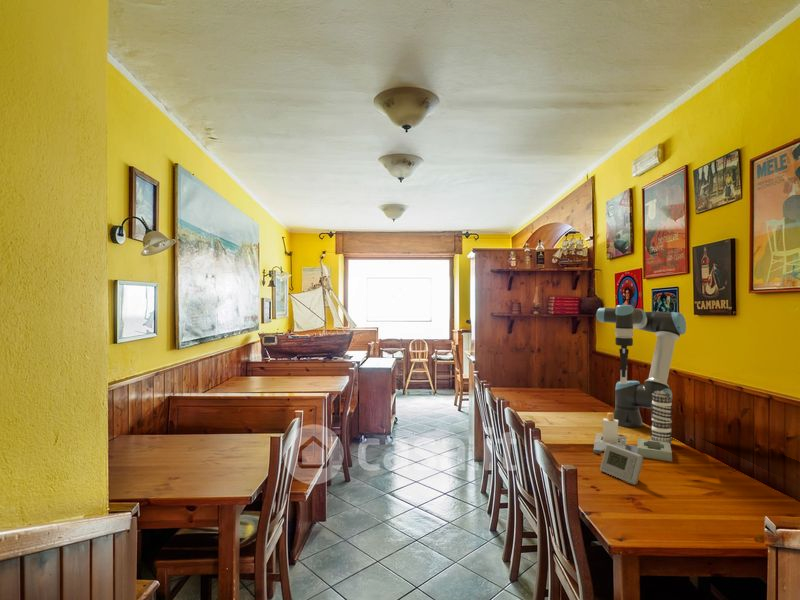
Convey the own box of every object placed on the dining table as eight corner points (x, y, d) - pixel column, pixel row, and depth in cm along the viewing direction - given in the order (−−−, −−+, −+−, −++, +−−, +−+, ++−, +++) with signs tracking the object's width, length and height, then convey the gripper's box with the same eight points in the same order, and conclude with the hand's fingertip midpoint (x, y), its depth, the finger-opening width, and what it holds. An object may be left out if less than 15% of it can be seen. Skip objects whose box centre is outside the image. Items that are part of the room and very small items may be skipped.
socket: (593, 449, 202) (594, 441, 202) (596, 440, 216) (596, 432, 216) (625, 454, 197) (625, 446, 197) (626, 444, 210) (626, 436, 210)
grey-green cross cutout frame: (637, 456, 195) (637, 447, 195) (637, 446, 208) (637, 438, 208) (671, 461, 189) (671, 452, 189) (669, 450, 202) (669, 442, 202)
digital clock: (597, 470, 182) (598, 443, 182) (617, 469, 184) (618, 442, 184) (626, 487, 166) (626, 457, 166) (647, 485, 168) (648, 456, 168)
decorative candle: (671, 450, 207) (672, 394, 207) (648, 446, 213) (649, 392, 213) (674, 445, 215) (675, 391, 214) (651, 441, 220) (652, 389, 220)
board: (593, 453, 202) (593, 449, 202) (595, 443, 216) (595, 440, 216) (672, 465, 189) (672, 461, 189) (670, 454, 202) (670, 450, 202)
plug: (602, 447, 206) (603, 413, 205) (603, 444, 210) (603, 411, 209) (617, 449, 203) (618, 415, 203) (617, 446, 207) (618, 413, 207)
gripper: (616, 334, 234) (615, 376, 235) (614, 339, 212) (614, 385, 212) (632, 335, 231) (632, 377, 231) (632, 339, 208) (632, 386, 209)
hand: (623, 381), depth 222 cm, fingers open, 13 cm apart
